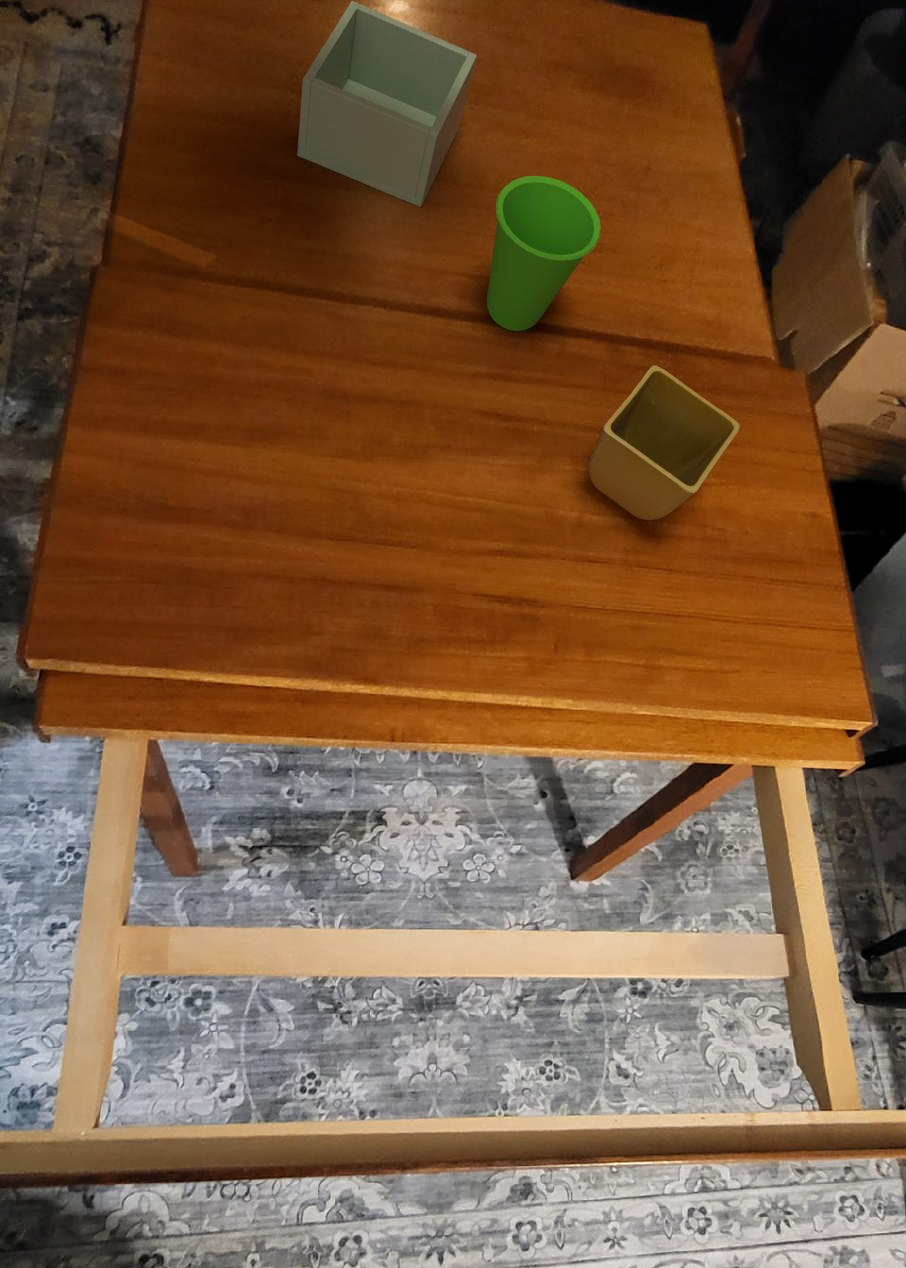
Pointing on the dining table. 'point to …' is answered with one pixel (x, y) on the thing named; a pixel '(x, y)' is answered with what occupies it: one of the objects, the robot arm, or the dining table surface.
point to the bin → (383, 103)
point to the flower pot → (659, 446)
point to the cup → (537, 247)
